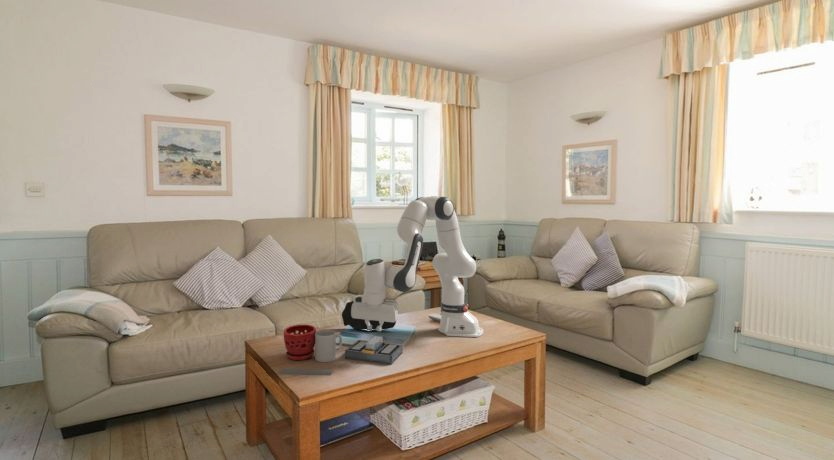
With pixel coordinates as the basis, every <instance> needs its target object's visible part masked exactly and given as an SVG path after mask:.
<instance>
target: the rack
mask: <svg viewBox="0 0 834 460" xmlns="http://www.w3.org/2000/svg"><path fill="white" fill-rule="evenodd" d="M367 342H368V340H362V339H358V340H357V341H355V342H354V343H353V344H352V345H350V346H349V347H347V348H346V349H345V350H344V359H347V360H355V361H362V362H367V363H368V362H370V363H375V364H376V363H377V364H383V365H384V364H385V365H391V366H392V364H394V363H395V362H396V360H398V359H399V357H400V356H401V355H402V354H403V344H394V343H387V342H386V340H383V347H382V348H381V349H380V350H378V351H377V352H376V353H374V351H369V350H366V343H367Z"/></svg>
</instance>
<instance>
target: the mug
mask: <svg viewBox="0 0 834 460" xmlns="http://www.w3.org/2000/svg"><path fill="white" fill-rule="evenodd" d="M342 337H343V336H342V335H341V334H340V333H336V331H335V330H333V329H322V330H316V333H315V346H314V348H315V349H314V351H315V352H314V354H315V355H314V359H315V361H316V362H318V363H329V362H333V361H335V360H336V358H337V350H340V349H341V348H342V345H343V338H342ZM337 338H338V339H339V342H338V345H337Z"/></svg>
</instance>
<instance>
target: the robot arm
mask: <svg viewBox="0 0 834 460" xmlns="http://www.w3.org/2000/svg"><path fill="white" fill-rule="evenodd" d="M427 220H428V221H429V220H430V221H435V228H436V234H437V241H438V245H439V246H440V247H441V249H442V250H444V252H441V253H437V254H435V255H434V257H433V258H432V263H431V265H432V268H433V270H434V272H436V273H437V275H438V277H439V280H440V284H441V302H440V303H441V305H440V314H441V315H440V316H441V317H440V322H439V326H438V332H440V333H442V334H444V335H445V336H447V337H464V338H467V337H468V338H479V337H481V336H482V335H483V334H484V328H482V327H480V324H479V320H478V318H477V317H476V316H475V315H474V314H472V313H471V312H470V311H469V303H465V287H464V286H463V284H462V283H461V281H460V280H459V278H460V279H461V278H462V279H464V278H465V279H466V278H471V277H473V276H474V275H475V274H476V271H477V262H476V260H475V259H474V258H473V257H472V256H471V255H470V254H469V253H468V251H467V250H466V247H465V246H464V244H463V241H462V236H461V230H460V225H459V219H458V217H457V213H456V211H455V207H454V202H453V201H452V199H451V198H449V197H448V196H447V197H446V196H436V195H434V196H433V195H431V196H422V197H421V196H419V197H417V198H416V199H413V200H411V201H410V202H409V203H408V205H407V206H406V208H405V209H404V211H403V212H402V215H401V217H400V219H399V222H398V225H397V227H396V233H397V234H398V237H399V238H400V240H402V241H403V242H405V243H406V244H407V246H408V249H407V253H406V257H405V260H404V264H403V266H396V265H391V264H389V263H387V262H385V261H384V259H380V258H374V259H370V260H368V261H367V262H366V264H364V265H365V267H364V270H363V271H364V274H363V282H364V289H363V293H359V294H357V295H354V296H353V298H352V301H353V302H354V303H353V304H352V308H351V316H352V318H356V319H365V323H366V325H367V330H372V325H370V323H369V321H370V320H375V321H379V323H380V325H379V326H378V327H377V329H376V331H377V332H382V329H381V326H382V325H383V323H384V322H395V321H396V322H397V321H398V319H399V311H398V308H399V304H398V302H397V300H395V299H389V298H386V288H388V289H393V290H397V291H398V292H401V293H408V292H410V291H411V290H412V289H413V288H414V287H415V284H416V282H417V274H418V273H417V272H418V267H419V263H420V259H421V255H422V253H423V252H422V251H423V247H424V238H423V236H422V233H423V230H424V227H425V224H426V221H427ZM372 331H373V330H372Z"/></svg>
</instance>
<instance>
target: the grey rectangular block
mask: <svg viewBox="0 0 834 460" xmlns="http://www.w3.org/2000/svg"><path fill="white" fill-rule="evenodd" d="M383 338H384V337H383V336H378V335H374V337H372V338H370V340H369V341H368V340H367V341H368V342H367V343H366V350H369V351H374V353H376V352H377V351H378V350H380V349H381V348H382V347H383V341H384V339H383Z"/></svg>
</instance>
